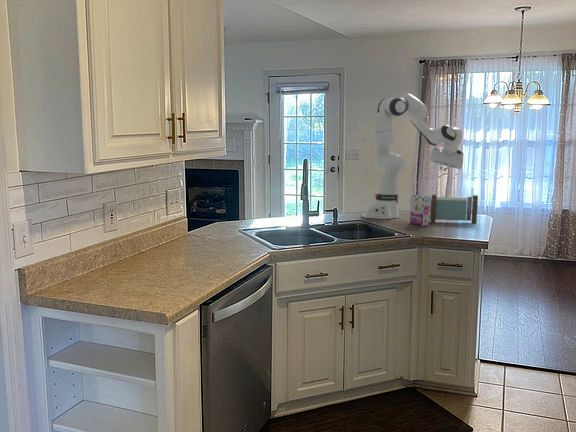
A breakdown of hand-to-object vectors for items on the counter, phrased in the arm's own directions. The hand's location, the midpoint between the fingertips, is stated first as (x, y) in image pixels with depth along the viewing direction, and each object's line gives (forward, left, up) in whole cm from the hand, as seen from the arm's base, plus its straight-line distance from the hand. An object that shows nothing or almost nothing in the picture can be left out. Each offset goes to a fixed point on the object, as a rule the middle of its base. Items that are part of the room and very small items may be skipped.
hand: (442, 170), depth 341 cm
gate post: (+17, -23, -28) cm, 40 cm away
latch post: (-6, -26, -28) cm, 39 cm away
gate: (+3, -23, -27) cm, 36 cm away
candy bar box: (-14, -33, -28) cm, 46 cm away
